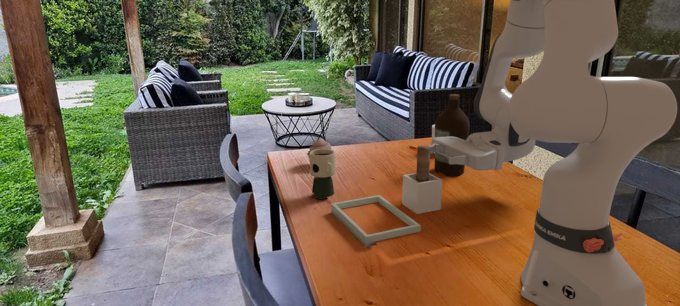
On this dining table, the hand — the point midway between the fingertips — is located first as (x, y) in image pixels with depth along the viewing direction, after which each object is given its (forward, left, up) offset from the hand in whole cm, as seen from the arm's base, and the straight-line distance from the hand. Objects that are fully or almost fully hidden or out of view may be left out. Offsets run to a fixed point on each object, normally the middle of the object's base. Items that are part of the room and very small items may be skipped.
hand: (436, 155), depth 115 cm
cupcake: (+44, +15, -15) cm, 49 cm away
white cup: (+40, -31, -15) cm, 53 cm away
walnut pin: (0, +4, -13) cm, 14 cm away
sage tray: (-2, +19, -14) cm, 24 cm away
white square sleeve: (0, +4, -14) cm, 15 cm away
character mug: (+19, +24, -15) cm, 34 cm away
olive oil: (+22, -21, -15) cm, 34 cm away
